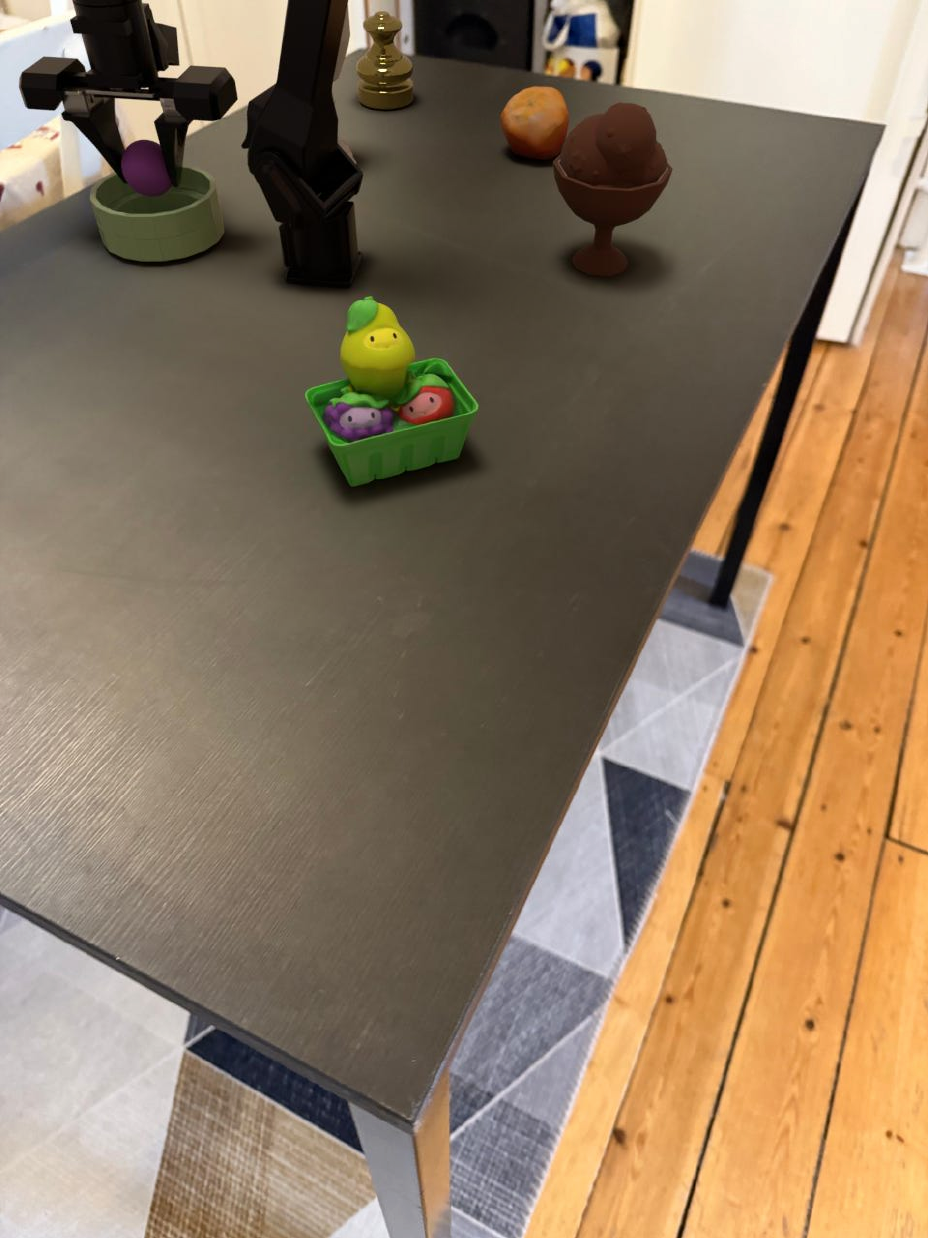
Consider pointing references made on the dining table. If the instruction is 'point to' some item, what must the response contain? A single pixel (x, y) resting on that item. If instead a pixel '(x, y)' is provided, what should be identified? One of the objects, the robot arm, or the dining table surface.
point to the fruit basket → (389, 401)
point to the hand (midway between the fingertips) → (152, 183)
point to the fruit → (536, 122)
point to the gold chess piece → (384, 66)
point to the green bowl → (158, 217)
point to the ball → (145, 168)
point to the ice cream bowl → (611, 178)
